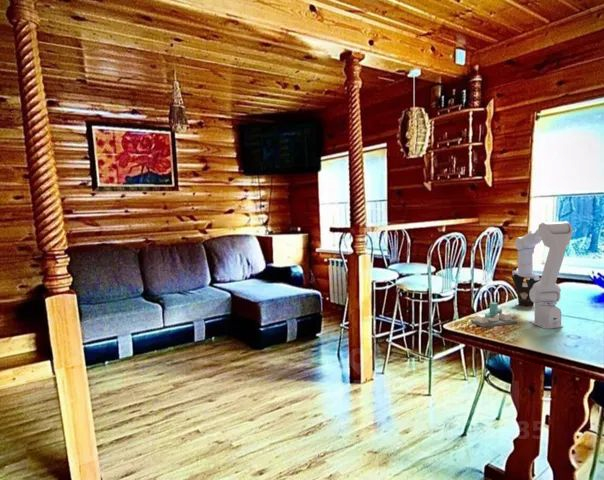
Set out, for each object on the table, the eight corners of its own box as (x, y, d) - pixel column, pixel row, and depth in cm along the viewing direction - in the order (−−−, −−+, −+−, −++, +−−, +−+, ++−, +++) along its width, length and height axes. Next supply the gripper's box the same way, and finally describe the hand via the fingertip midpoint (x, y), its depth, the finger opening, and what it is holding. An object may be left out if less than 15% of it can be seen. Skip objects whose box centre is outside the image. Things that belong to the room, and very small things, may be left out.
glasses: (495, 310, 176) (495, 299, 175) (504, 311, 173) (504, 300, 173) (482, 317, 167) (482, 305, 167) (491, 318, 165) (491, 307, 164)
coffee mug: (512, 304, 196) (512, 284, 195) (524, 301, 199) (524, 282, 198) (533, 309, 185) (533, 288, 184) (546, 307, 188) (546, 286, 187)
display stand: (504, 317, 176) (504, 310, 175) (516, 323, 168) (516, 315, 168) (471, 321, 173) (471, 313, 173) (482, 327, 165) (482, 318, 165)
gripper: (545, 265, 172) (545, 295, 173) (521, 260, 186) (521, 288, 188) (531, 266, 171) (531, 297, 172) (508, 261, 185) (508, 290, 186)
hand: (525, 293), depth 180 cm, fingers open, 7 cm apart
